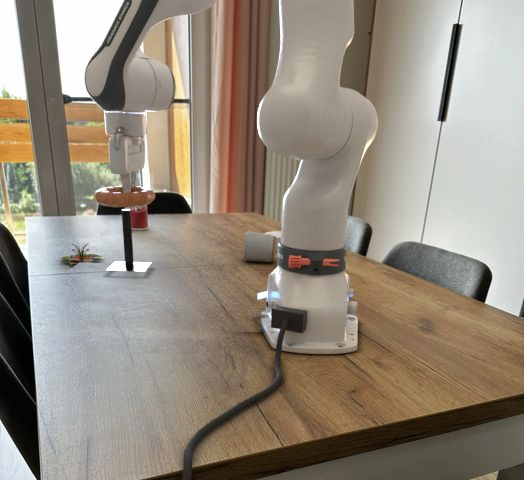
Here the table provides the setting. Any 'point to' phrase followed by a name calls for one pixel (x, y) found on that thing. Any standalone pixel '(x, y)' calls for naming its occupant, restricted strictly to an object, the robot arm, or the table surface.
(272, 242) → the ceramic mug
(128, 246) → the stand
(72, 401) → the table surface
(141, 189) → the ring
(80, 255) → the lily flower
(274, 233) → the ramekin
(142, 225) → the soda can
